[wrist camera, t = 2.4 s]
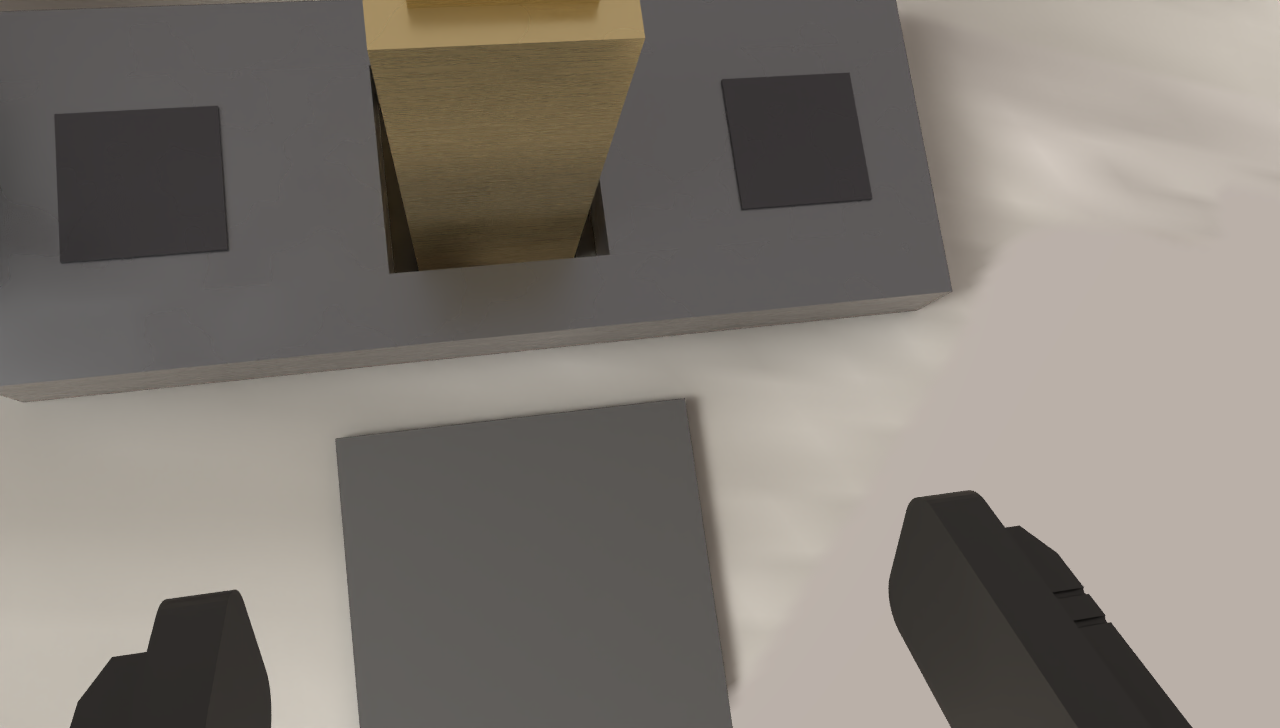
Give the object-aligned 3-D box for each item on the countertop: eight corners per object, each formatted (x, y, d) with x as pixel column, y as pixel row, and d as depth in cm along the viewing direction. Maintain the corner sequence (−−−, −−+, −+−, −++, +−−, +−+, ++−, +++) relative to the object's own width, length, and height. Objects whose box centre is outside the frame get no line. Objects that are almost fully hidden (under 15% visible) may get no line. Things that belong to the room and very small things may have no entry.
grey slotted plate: (23, 402, 26) (-25, 387, 23) (12, 58, 27) (-34, 10, 25) (916, 310, 30) (953, 290, 28) (862, 22, 32) (893, -21, 29)
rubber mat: (369, 814, 25) (367, 819, 25) (337, 440, 27) (335, 438, 26) (732, 747, 27) (735, 750, 26) (681, 400, 28) (684, 398, 28)
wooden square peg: (419, 271, 28) (362, 30, 15) (404, 124, 29) (337, -230, 15) (573, 257, 29) (650, 19, 16) (555, 115, 29) (614, -228, 16)
